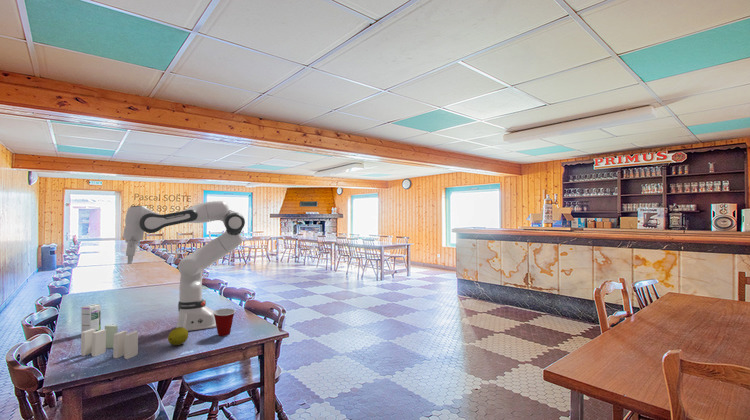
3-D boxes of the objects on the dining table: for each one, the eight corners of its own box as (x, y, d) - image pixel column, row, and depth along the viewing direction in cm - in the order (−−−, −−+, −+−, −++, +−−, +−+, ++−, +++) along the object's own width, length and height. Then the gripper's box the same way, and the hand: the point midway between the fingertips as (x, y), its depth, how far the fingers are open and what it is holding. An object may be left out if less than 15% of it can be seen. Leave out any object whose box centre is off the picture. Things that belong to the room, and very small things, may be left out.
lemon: (180, 340, 177) (180, 324, 177) (193, 342, 175) (193, 325, 175) (161, 348, 166) (161, 330, 167) (175, 350, 164) (175, 332, 164)
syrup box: (90, 335, 185) (90, 306, 185) (80, 334, 186) (81, 306, 186) (100, 332, 190) (101, 304, 190) (91, 331, 191) (91, 303, 192)
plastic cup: (219, 339, 178) (219, 314, 179) (208, 334, 185) (209, 311, 186) (239, 333, 187) (239, 310, 187) (229, 329, 194) (229, 307, 194)
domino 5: (124, 358, 154) (124, 335, 154) (134, 354, 159) (134, 331, 159) (128, 358, 154) (128, 335, 154) (137, 354, 159) (138, 331, 159)
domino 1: (80, 355, 158) (81, 332, 158) (91, 351, 163) (92, 328, 163) (84, 355, 158) (84, 332, 158) (95, 351, 163) (95, 329, 163)
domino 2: (91, 356, 157) (92, 332, 157) (102, 351, 162) (102, 329, 162) (95, 356, 157) (95, 333, 157) (105, 352, 162) (106, 329, 162)
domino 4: (113, 357, 155) (113, 334, 155) (123, 353, 160) (123, 330, 160) (116, 358, 155) (117, 334, 155) (126, 353, 160) (127, 330, 160)
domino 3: (108, 346, 169) (108, 324, 169) (117, 347, 168) (117, 325, 168) (104, 347, 167) (104, 326, 167) (113, 348, 166) (114, 326, 166)
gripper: (139, 238, 182) (136, 265, 181) (141, 234, 199) (137, 260, 199) (124, 237, 179) (121, 265, 178) (127, 234, 196) (124, 259, 196)
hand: (129, 262), depth 189 cm, fingers open, 8 cm apart
